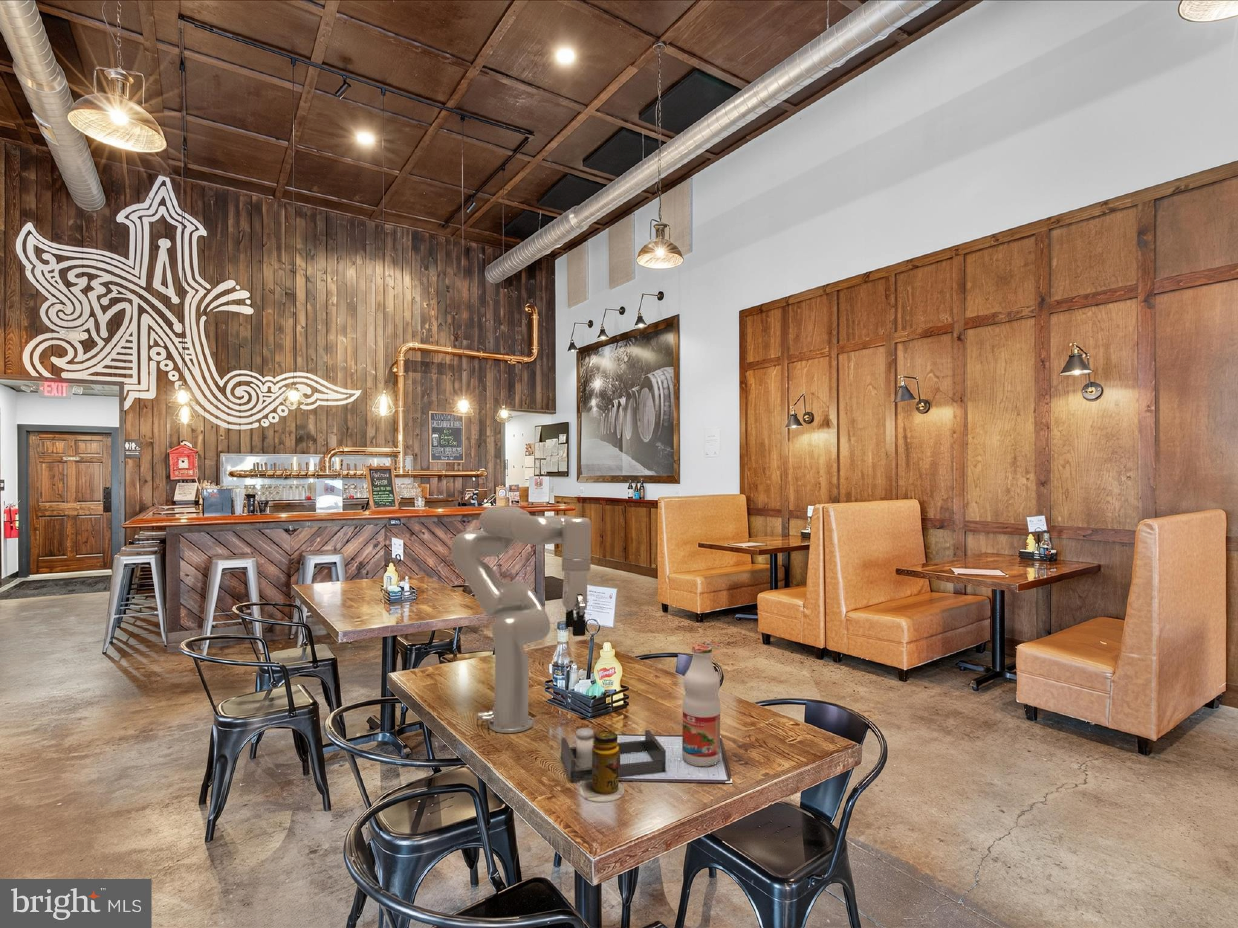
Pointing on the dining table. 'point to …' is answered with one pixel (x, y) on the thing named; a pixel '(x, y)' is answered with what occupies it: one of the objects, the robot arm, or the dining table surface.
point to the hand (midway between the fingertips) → (575, 631)
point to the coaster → (603, 798)
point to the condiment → (604, 766)
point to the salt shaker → (584, 747)
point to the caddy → (627, 769)
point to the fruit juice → (701, 710)
